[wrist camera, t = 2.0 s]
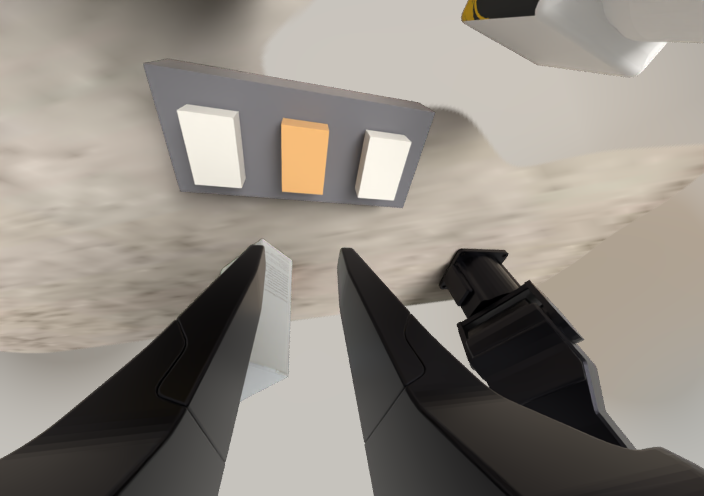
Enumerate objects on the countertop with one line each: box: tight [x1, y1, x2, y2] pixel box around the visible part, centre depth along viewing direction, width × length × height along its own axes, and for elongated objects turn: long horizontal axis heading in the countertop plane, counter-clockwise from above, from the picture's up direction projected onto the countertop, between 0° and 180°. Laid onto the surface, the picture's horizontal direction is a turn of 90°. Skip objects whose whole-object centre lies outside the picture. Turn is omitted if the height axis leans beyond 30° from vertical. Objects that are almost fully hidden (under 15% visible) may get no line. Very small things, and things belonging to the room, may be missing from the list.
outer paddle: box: [177, 104, 246, 188], centre depth 14 cm, size 3×4×1 cm, turn 170°
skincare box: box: [220, 239, 292, 402], centre depth 21 cm, size 6×4×12 cm
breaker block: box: [143, 59, 435, 208], centre depth 17 cm, size 16×7×3 cm, turn 81°
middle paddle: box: [281, 118, 329, 195], centre depth 16 cm, size 3×4×1 cm, turn 170°
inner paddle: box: [355, 130, 411, 201], centre depth 17 cm, size 3×4×1 cm, turn 170°
